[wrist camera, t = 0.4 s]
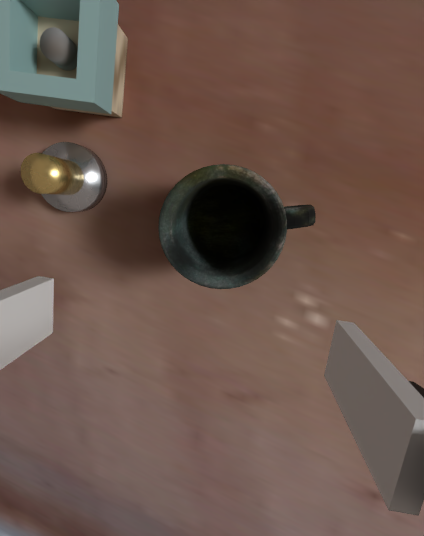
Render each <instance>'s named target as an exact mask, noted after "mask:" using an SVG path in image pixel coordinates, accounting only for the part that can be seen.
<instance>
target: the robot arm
mask: <svg viewBox="0 0 424 536" xmlns="http://www.w3.org/2000/svg"><path fill="white" fill-rule="evenodd" d="M53 294H54V278H47V277H40V276H37V277H35V278H32V279H29V280H27V281H24V282H21V283H19V284H16V285H13V286H11V287H8V288H5V289H3V290H0V370H1V369H2V368H4V367H5V366H6V365H8V364H9V363H11V362H12V361H14V360H15V359H16V358H18V357H19V356H21V355H22V354H23V353H25V352H26V351H28V350H29V349H31V348H32V347H33V346H35V345H36V344H38V343H39V342H40V341H42V340H43V339H45V338H46V337H48V336H49V335H50V334H52V333H53ZM324 376H325V378H326V380H327V382H328V385H329V387H330V389H331V391H332V393H333V395H334V397H335V399H336V401H337V403H338V405H339V408H340V410H341V412H342V414H343V416H344V418H345V420H346V422H347V424H348V426H349V428H350V431H351V433H352V435H353V437H354V439H355V441H356V443H357V445H358V447H359V449H360V451H361V454H362V456H363V458H364V460H365V462H366V464H367V466H368V468H369V470H370V472H371V474H372V477H373V479H374V481H375V483H376V485H377V487H378V489H379V491H380V493H381V495H382V497H383V500H384V502H385V504H386V506H387V508H388V510H390V511H396V512H402V513H407V514H413V515H418V516H419V513H420V510H421V506H422V503H423V500H424V388H422V387H421V386H419V385H418V384H416V383H414V382H411V381H408V380H407V379H406V378H405V377H404V376H403V375H402V374H401V373H400V372H399V371H398V370H397V368H396V367H395V366H394V365H393V364H392V363H391V362H390V361H389V360H388V359H387V358H386V357H385V356H384V354H383V353H382V352H381V351H380V350H379V349H378V348H377V347H376V346H375V345H374V344H373V343H372V342H371V340H370V339H369V338H368V337H367V336H366V335H365V334H364V333H363V332H362V331H361V330H360V329H359V328H358V326H357V325H356V324H355V323H353V322H346V321H339V320H336V325H335V329H334V334H333V338H332V343H331V347H330V352H329V356H328V361H327V365H326V370H325V374H324Z"/></svg>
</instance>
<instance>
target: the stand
mask: <svg viewBox="0 0 424 536" xmlns="http://www.w3.org/2000/svg"><path fill="white" fill-rule="evenodd" d="M78 34H79V21H73V20H65V19H56V18H48V17H39V16H38V35H37V74H42V75H49V76H57V77H65V78H73V79H76V75H77V55H78ZM127 42H128V38H127V37H126V35H125V34H124V33H123V31H122V30H121V28H120V27H119V25H118V26H117V40H116V54H115V68H114V82H113V96H112V111H111V114H104V113H96V112H89V111H82V110H74V109H67V108H59V107H52V106H50V107H52V108H54V109H60V110H68V111H75V112H83V113H90V114H98V115H105V116H113V117H120V118H122V107H123V94H124V81H125V68H126V55H127Z"/></svg>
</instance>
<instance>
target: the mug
mask: <svg viewBox="0 0 424 536" xmlns="http://www.w3.org/2000/svg"><path fill="white" fill-rule="evenodd" d="M314 223H315V209H314V207H313V206H312V205H298V206H287V207H283V204H282V201H281V199H280V197H279V196H278V194H277V192H276V191H275V190H274V188H273V187H272V186H271V185H270V184H269V183H268V182H267V181H266V180H265V179H264V178H263V177H261V176H260V175H258V174H256V173H255V172H253V171H251V170H248V169H246V168H243V167H239V166H235V165H225V164H222V165H212V166H207V167H203V168H201V169H198V170H196V171H193V172H192V173H190V174H189V175H187V176H185V177H184V178H183V179H182V180H180V181H179V182H178V183H177V184H176V185H175V186H174V187H173V189H172V190H171V191H170V193H169V194H168V196H167V197H166V199H165V201H164V204H163V206H162V209H161V213H160V217H159V238H160V242H161V246H162V249H163V251H164V253H165V255H166V257H167V259H168V260H169V262H170V263H171V265H172V266H173V267H174V268H175V269H176V270H177V271H178V272H179V273H180V274H181V275H182V276H184V277H185V278H187V279H188V280H190V281H192V282H194V283H196V284H198V285H201V286H205V287H208V288H215V289H230V288H236V287H240V286H243V285H246V284H249V283H251V282H252V281H254V280H256V279H258V278H259V277H261V276H262V275H263V274H265V273H266V272H267V271H268V270H269V269H270V268H271V267H272V266H273V264H274V263H275V261H276V260H277V259H278V257H279V255H280V253H281V251H282V249H283V246H284V243H285V239H286V233H287V229H293V228H301V227H308V226H311V225H313V224H314Z"/></svg>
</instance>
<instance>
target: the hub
mask: <svg viewBox="0 0 424 536" xmlns="http://www.w3.org/2000/svg"><path fill="white" fill-rule="evenodd" d="M21 177H22V180H23V182H24V184H25V185H26V186H27V188H29V189H30V190H31V191H33V192H35V193H39V194H41V195H42V196H43V198H44V199H45V200H46V201H47V202H48V203H49V204H50V205H52V206H53V207H55V208H57V209H59V210H62V211H66V212H77V211H86V210H89V209H91V208H93V207H94V206H96V205H97V204H98V203H99V202H100V201H101V200H102V198H103V196H104V194H105V192H106V188H107V174H106V170H105V167H104V165H103V163H102V161H101V160H100V158H99V157H98V156H97V155H96V154H95V153H94V152H92V151H91V150H89V149H88V148H86V147H83V146H80V145H77V144H74V143H70V142H60V143H56V144H53V145H51V146H50V147H48V148H47V149H46V150H45V151H44V152H43V153H33V154H30V155H29V156H27V157H26V158H25V159H24V161H23V163H22V165H21Z"/></svg>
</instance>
